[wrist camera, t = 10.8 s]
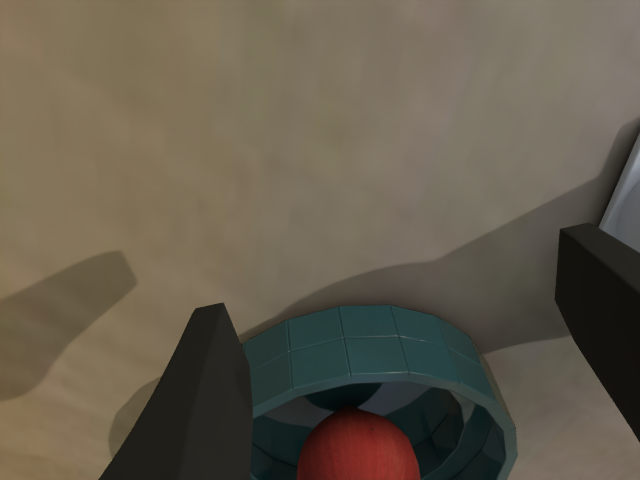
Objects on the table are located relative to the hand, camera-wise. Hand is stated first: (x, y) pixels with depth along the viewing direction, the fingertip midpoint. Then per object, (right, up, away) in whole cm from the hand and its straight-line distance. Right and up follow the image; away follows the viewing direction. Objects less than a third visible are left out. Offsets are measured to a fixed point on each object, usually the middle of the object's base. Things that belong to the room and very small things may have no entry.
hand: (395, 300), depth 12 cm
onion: (0, -8, +18) cm, 20 cm away
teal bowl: (0, -7, +19) cm, 20 cm away
